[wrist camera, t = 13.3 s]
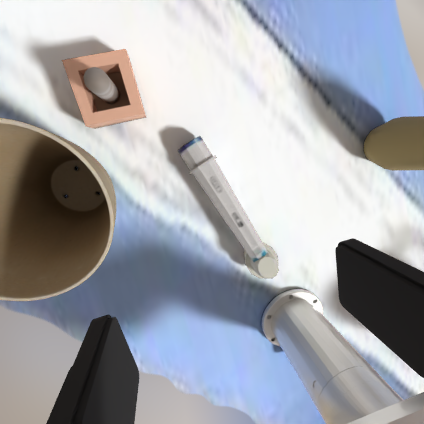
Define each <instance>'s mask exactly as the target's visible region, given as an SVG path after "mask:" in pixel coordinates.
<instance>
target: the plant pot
mask: <svg viewBox="0 0 424 424" xmlns="http://www.w3.org/2000/svg"><path fill="white" fill-rule="evenodd" d="M76 166H77V167H78V170H75V167H76ZM96 192H99V193H100V194H97V193H96ZM64 195H68V197H67V198H65V197H64ZM115 219H116V196H115V191H114V187H113V184H112V181H111V179H110V177H109V175H108V173H107V172H106V170H105V169H104V168H103V166H102V165H101V164H100V163H99V162H98V161H97V160H96V159H95V158H94V157H93V156H92V155H90V154H89V153H88V152H86V151H85V150H84V149H82V148H81V147H79V146H77V145H76V144H74V143H72V142H70V141H68V140H66V139H64V138H62V137H60V136H57V135H55V134H53V133H50V132H48V131H46V130H43V129H41V128H38V127H36V126H33V125H30V124H27V123H24V122H20V121H16V120H11V119H5V118H0V300H7V301H33V300H40V299H45V298H49V297H53V296H56V295H59V294H62V293H65V292H67V291H69V290H71V289H73V288H75V287H76V286H78V285H80V284H81V283H83V282H84V281H85V280H86V279H88V278H89V277H90V276H91V275H92V274H93V273H94V272H95V271H96V270H97V268H98V267H99V266H100V265H101V263H102V262H103V260H104V258H105V257H106V255H107V253H108V250H109V248H110V245H111V242H112V237H113V231H114V225H115Z"/></svg>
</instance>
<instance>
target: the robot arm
mask: <svg viewBox="0 0 424 424" xmlns="http://www.w3.org/2000/svg"><path fill="white" fill-rule="evenodd" d="M336 263H337V277H338V291H339V300H340V303H341V304H342V306H343V307H344V308H345V309H346V310H347V311H348V312H349V313H351V314H352V315H353V316H354V317H355V318H356V319H357V320H358V321H359V322H361V323H362V324H363V325H364V326H365V327H366V328H367V329H368V330H370V331H371V332H372V333H373V334H374V335H375V336H376V337H377V338H378V339H380V340H381V341H382V342H383V343H384V344H385V345H386V346H387V347H389V348H390V349H391V350H392V351H393V352H394V353H395V354H396V355H397V356H399V357H400V358H401V359H402V360H403V361H404V362H405V363H406V364H407V365H409V366H410V367H411V368H412V369H413V370H414V371H415V372H416V373H418V374H419V375H420V376H421V377H423V378H424V272H422V271H420V270H418V269H416V268H414V267H412V266H410V265H408V264H406V263H404V262H401V261H399V260H397V259H395V258H393V257H391V256H389V255H387V254H385V253H383V252H381V251H379V250H377V249H375V248H373V247H371V246H368V245H366V244H364V243H362V242H360V241H358V240H356V239H349V240H346V241H342V242H340V243H339V244H338V247H336ZM262 329H263V332H264V334H265V336H266V338H267V339H268V340H269V341H270V342H271V343H273V344H275V345H277V346H281V347H282V349H283V351H284V353H285V354H286V356H287V358H288V359H289V361H290V363H291V365H292V366H293V368H294V370H295V371H296V373H297V375H298V377H299V378H300V380H301V382H302V383H303V385H304V387H305V389H306V390H307V392H308V394H309V395H310V397H311V399H312V401H313V402H314V404H315V406H316V407H317V409H318V411H319V413H320V414H321V416H322V418H323V419H324V421H325V423H326V424H424V392H423V393H421V394H418V395H416V396H413V397H411V398H408V399H406V400H403V399H402V398H401V397H400V396H399V395H398V394H397V393H396V392H395V391H394V390H393V389H392V388H391V387H390V386H389V385H388V384H387V383H386V382H385V380H384V379H383V378H382V377H381V376H380V375H379V374H378V373H377V372H376V371H375V370H374V369H373V368H372V367H371V366H370V365H369V364H368V362H367V361H366V360H365V359H364V358H363V357H362V356H361V355H360V354H359V353H358V352H357V351H356V350H355V349H354V348H353V347H352V345H351V344H350V343H349V342H348V341H347V340H346V339H345V338H344V337H343V336H342V335H341V334H340V333H339V332H338V331H337V330H336V328H335V327H334V326H333V325H332V324H331V323H330V322H329V321H328V320H327V319H326V318H325V317H324V316H323V306H322V304H321V302H320V300H319V299H318V298H317V297H316V296H315V295H314V294H313V293H311V292H310V291H307V290H304V289H293V290H289V291H286V292H284V293H282V294H280V295H278V296H277V297H275V298H274V299H273V300H272V301H271V302H270V303H269V305H268V306H267V307H266V309H265V311H264V314H263V317H262ZM138 384H139V371H138V368H137V365H136V363H135V360H134V358H133V356H132V353H131V351H130V349H129V346H128V344H127V342H126V339H125V337H124V335H123V332H122V330H121V328H120V325H119V323H118V321H117V319H116V317H111V316H110V315H106V316H102V317H99V318H96V319H93V320H92V322H91V324H90V326H89V328H88V331H87V333H86V336H85V338H84V340H83V343H82V345H81V348H80V350H79V352H78V355H77V357H76V359H75V362H74V364H73V366H72V367H71V368H70V370H69V372H68V374H67V377H66V379H65V382H64V384H63V386H62V388H61V391H60V393H59V395H58V398H57V400H56V402H55V405H54V407H53V409H52V412H51V414H50V417H49V419H48V421H47V423H46V424H134V421H135V411H136V402H137V393H138Z"/></svg>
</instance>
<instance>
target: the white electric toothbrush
mask: <svg viewBox="0 0 424 424" xmlns="http://www.w3.org/2000/svg"><path fill="white" fill-rule="evenodd" d="M178 152H179V154H180V155H181V157H182V158H183V160H184V162H185V163H186V165H187V166H188V168H189V169H190V171H191V172H189V173H190V175H191V174H193V175H194V177H195V178H196V180H197V181H198V183H199V184H200V185H201V187H202V188H203V190H204V191H205V193H206V194H207V196H208V197H209V199H210V200H211V201H212V203H213V204H214V206H215V207H216V209H217V210H218V212H219V213H220V214H221V216H222V217H223V219H224V220H225V222H226V223H227V225H228V226H229V228H230V229H231V230H232V232H233V233H234V235H235V236H236V238H237V239H238V241H239V242H240V244H241V245H242V246H243V248H244V249H245V251H244V257H245V265H246V266H247V268H248V269H249V271H250V272H251V274H253V275H254V276H256V277H258V278H265V279H270V278H273V277H275V276H276V275H277V273H278V271H279V268H278V256H277V254H276V253H275V251H274V250H273V248H272V247H270V246H269V245H267V244H265V243H262V241H261V239H260V237H259V236H258V234H257V232H256V230H255V229H254V227H253V225H252V223H251V222H250V220H249V218H248V216H247V215H246V213H245V211H244V210H243V208H242V206H241V204H240V203H239V201H238V199H237V197H236V196H235V194H234V192H233V190H232V189H231V187H230V185H229V183H228V182H227V180H226V178H225V176H224V175H223V173H222V171H221V169H220V168H219V166H218V164H217V162H216V161H215V158H217V157H216V156H214V157H213V156H212V154H211V152H210V151H209V149H208V148H207V146H206V144H205V143H204V141H203V140H202V138H201V136H199V137H197V138H195V139H193V140H192V141H190V142H189V143H187V144H186V145H184V146H183V147H182V148H180V149H179V150H178Z"/></svg>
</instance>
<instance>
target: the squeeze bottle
mask: <svg viewBox="0 0 424 424" xmlns="http://www.w3.org/2000/svg"><path fill="white" fill-rule="evenodd" d="M364 153H365V155H366V157H367V158H368V159H369V160H370V161H371V162H373V163H375V164H377V165H379V166H381V167H383V168H384V169H389V170H424V116H423V117H400V118H395V119H392V120H390V121H388V122H386V123H384V124H382V125H380V126H378V127H376V128H375V129H373V130H372V131H371V132H370V133H369V134H368V136H367V137H366V140H365V143H364Z"/></svg>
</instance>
